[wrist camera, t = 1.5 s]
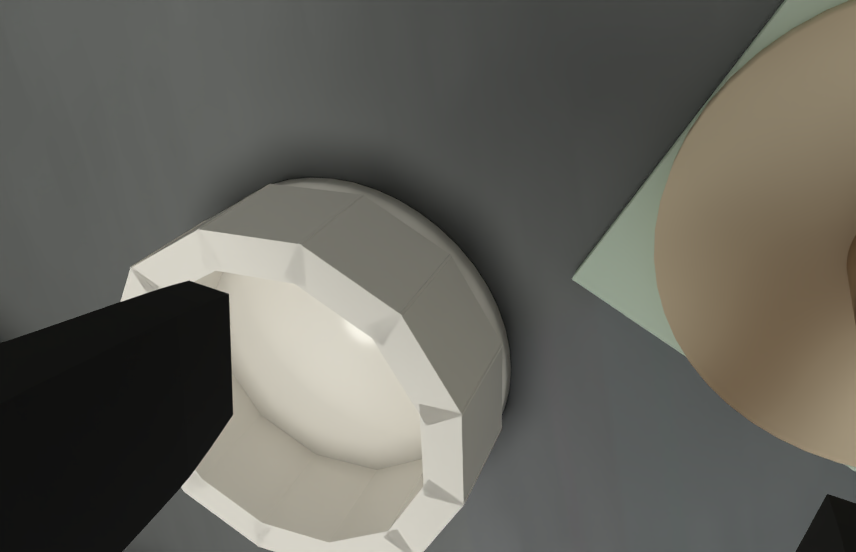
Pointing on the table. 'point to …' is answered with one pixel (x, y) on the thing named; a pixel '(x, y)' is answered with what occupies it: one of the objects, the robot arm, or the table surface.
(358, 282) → the bowl
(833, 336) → the lid
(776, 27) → the mat
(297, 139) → the table surface
